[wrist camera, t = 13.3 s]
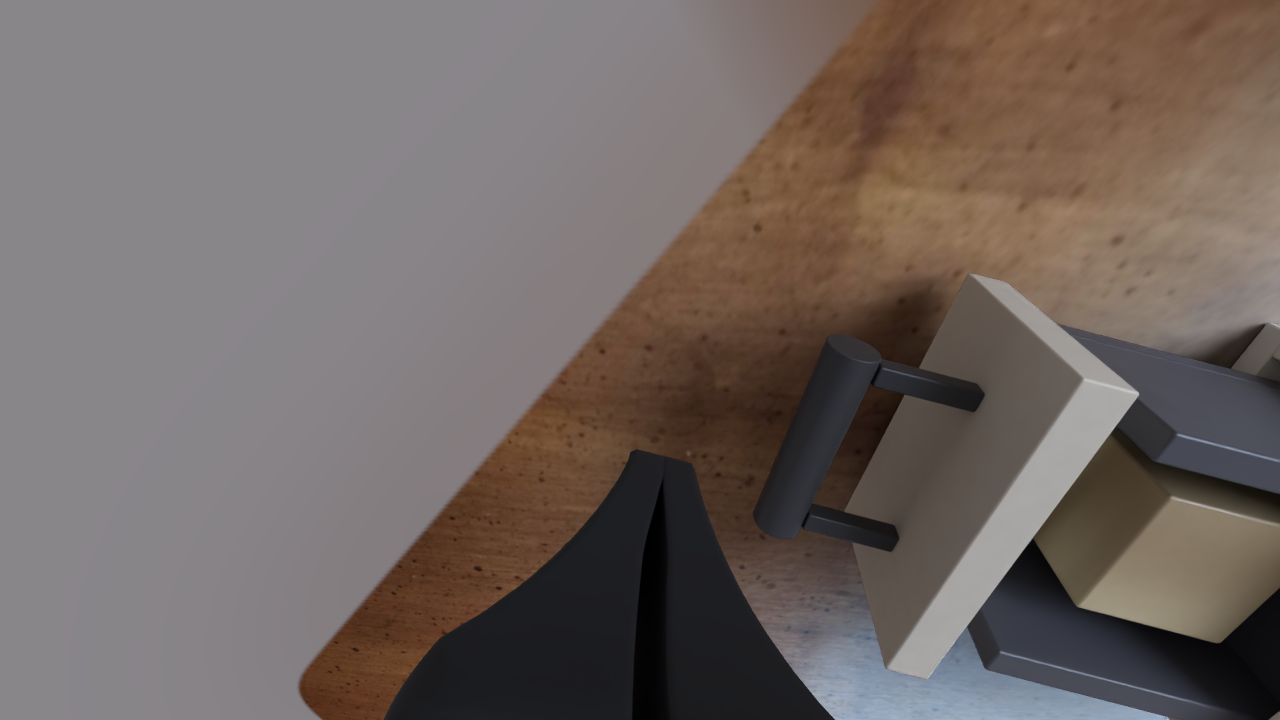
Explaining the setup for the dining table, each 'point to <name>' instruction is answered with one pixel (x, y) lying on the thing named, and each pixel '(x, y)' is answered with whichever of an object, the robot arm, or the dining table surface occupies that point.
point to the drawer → (1026, 499)
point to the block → (1163, 543)
